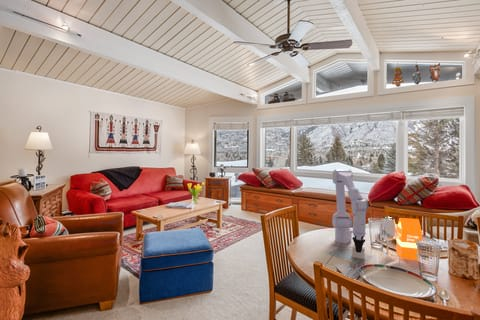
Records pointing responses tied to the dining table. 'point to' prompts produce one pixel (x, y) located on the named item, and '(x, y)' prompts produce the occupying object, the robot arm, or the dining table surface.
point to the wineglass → (388, 230)
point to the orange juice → (408, 238)
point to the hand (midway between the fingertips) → (358, 249)
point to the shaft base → (348, 255)
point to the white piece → (357, 254)
